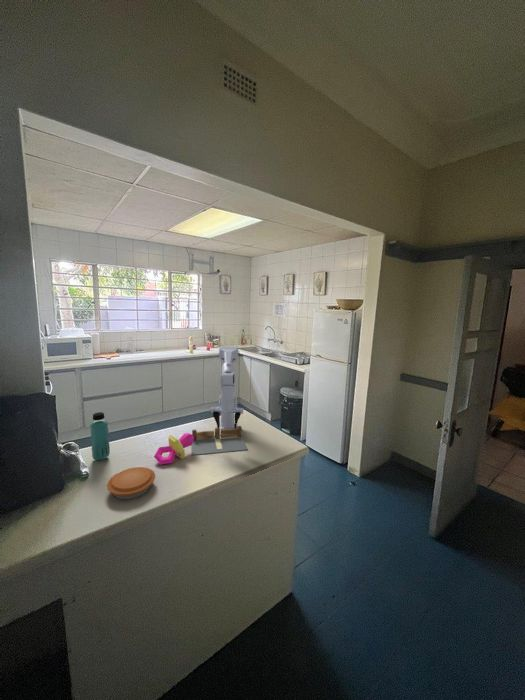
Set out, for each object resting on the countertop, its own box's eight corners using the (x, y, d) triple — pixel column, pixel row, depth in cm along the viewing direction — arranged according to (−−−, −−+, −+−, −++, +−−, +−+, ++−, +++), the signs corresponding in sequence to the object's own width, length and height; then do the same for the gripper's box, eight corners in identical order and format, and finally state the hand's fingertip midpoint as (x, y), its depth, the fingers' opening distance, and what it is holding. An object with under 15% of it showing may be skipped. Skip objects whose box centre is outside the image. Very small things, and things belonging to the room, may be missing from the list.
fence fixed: (214, 438, 139) (214, 427, 138) (240, 435, 142) (241, 425, 141) (215, 440, 136) (215, 429, 135) (241, 437, 140) (241, 427, 139)
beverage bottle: (102, 464, 113) (99, 417, 110) (88, 462, 114) (85, 415, 111) (113, 456, 119) (111, 411, 116) (100, 454, 120) (97, 409, 117)
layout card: (191, 437, 138) (191, 436, 138) (240, 433, 144) (240, 432, 144) (191, 455, 122) (191, 454, 122) (247, 449, 128) (247, 448, 128)
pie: (163, 490, 98) (162, 477, 98) (115, 511, 88) (114, 496, 87) (146, 471, 110) (145, 459, 109) (101, 487, 99) (101, 474, 98)
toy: (151, 459, 119) (149, 445, 113) (186, 435, 131) (186, 421, 125) (164, 475, 115) (163, 462, 108) (200, 449, 126) (200, 435, 120)
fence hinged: (213, 436, 138) (213, 427, 137) (214, 438, 136) (214, 429, 136) (192, 438, 135) (192, 429, 135) (192, 440, 134) (192, 431, 133)
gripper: (209, 401, 122) (209, 430, 124) (242, 402, 122) (241, 432, 124) (212, 396, 129) (212, 424, 131) (243, 397, 129) (243, 425, 131)
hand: (226, 427), depth 128 cm, fingers open, 7 cm apart
